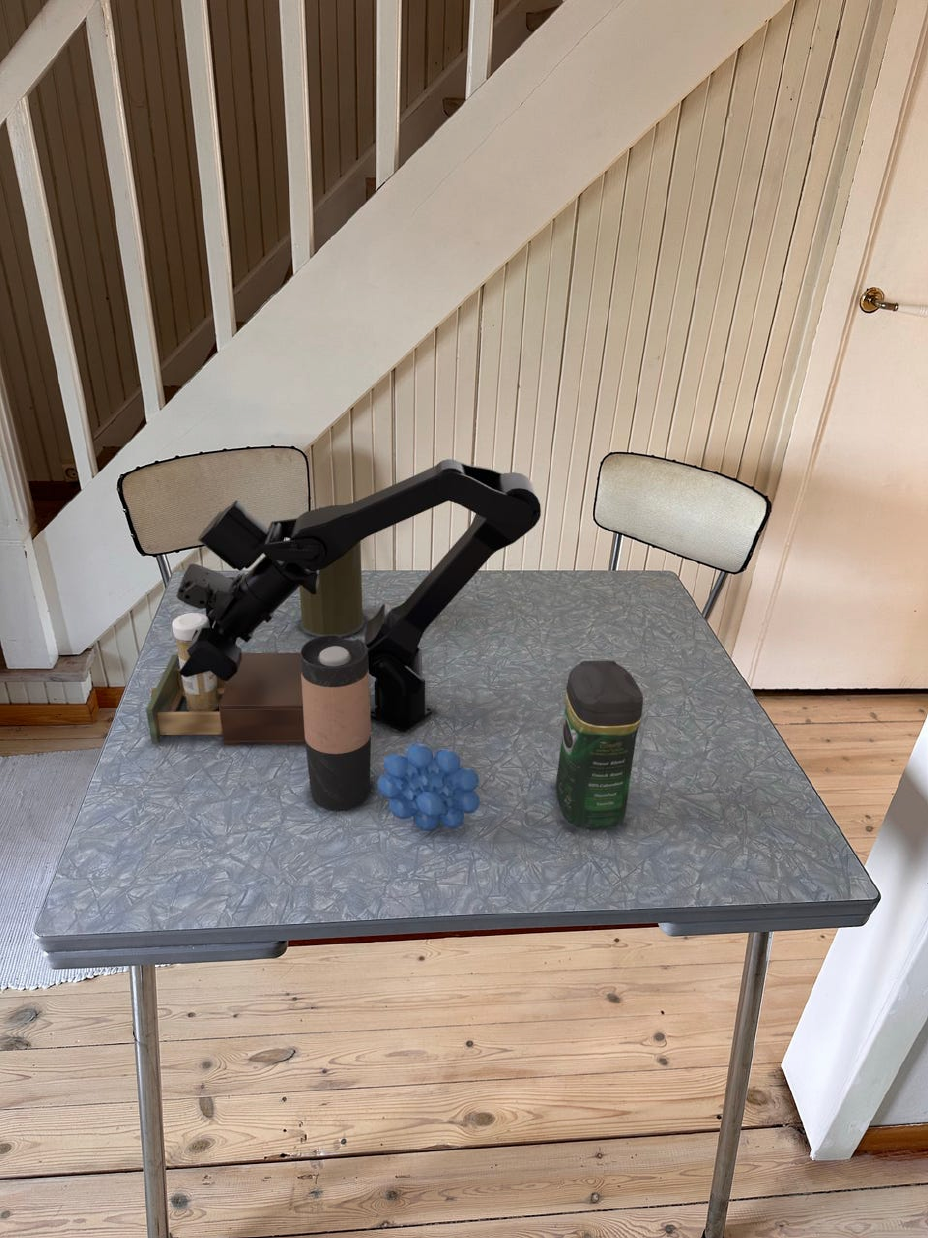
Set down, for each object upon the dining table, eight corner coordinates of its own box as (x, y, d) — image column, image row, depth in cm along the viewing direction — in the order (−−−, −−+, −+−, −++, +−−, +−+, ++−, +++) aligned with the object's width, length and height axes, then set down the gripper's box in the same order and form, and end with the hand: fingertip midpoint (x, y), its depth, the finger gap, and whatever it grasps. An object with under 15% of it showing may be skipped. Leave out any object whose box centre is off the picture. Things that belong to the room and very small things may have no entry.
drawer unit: (223, 744, 110) (218, 705, 107) (241, 689, 121) (237, 652, 118) (316, 744, 110) (313, 705, 108) (325, 689, 122) (323, 652, 119)
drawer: (142, 744, 109) (135, 709, 106) (168, 686, 121) (163, 654, 118) (246, 743, 110) (242, 708, 107) (262, 686, 121) (259, 654, 119)
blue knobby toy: (377, 856, 93) (374, 770, 87) (378, 815, 99) (376, 732, 93) (481, 854, 94) (486, 769, 88) (477, 813, 100) (481, 730, 94)
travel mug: (321, 820, 98) (312, 674, 88) (300, 782, 104) (289, 641, 94) (382, 801, 101) (379, 659, 91) (358, 765, 107) (354, 628, 97)
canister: (360, 640, 135) (356, 524, 125) (295, 638, 135) (287, 521, 125) (367, 608, 144) (365, 498, 135) (307, 606, 144) (300, 496, 135)
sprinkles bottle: (225, 709, 114) (213, 622, 108) (192, 719, 112) (178, 631, 105) (214, 693, 117) (201, 608, 111) (181, 703, 115) (167, 616, 109)
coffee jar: (632, 831, 98) (655, 698, 89) (566, 835, 97) (582, 701, 88) (610, 778, 106) (628, 651, 97) (549, 781, 105) (562, 654, 96)
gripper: (226, 520, 112) (155, 595, 116) (195, 582, 95) (113, 665, 100) (291, 574, 116) (219, 643, 121) (271, 641, 100) (189, 719, 104)
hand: (186, 665), depth 111 cm, fingers closed on sprinkles bottle, 4 cm apart
